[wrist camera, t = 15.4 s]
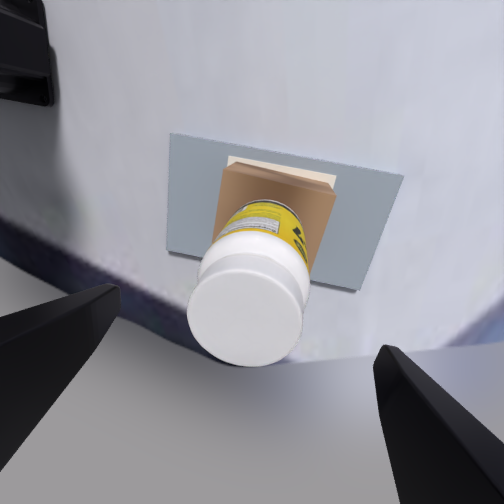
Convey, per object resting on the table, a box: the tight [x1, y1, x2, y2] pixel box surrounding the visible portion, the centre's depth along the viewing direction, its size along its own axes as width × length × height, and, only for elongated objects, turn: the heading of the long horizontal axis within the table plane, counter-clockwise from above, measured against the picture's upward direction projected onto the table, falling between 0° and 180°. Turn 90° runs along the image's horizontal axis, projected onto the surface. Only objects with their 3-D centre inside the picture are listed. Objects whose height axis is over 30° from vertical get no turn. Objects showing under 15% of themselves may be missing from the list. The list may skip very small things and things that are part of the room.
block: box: [211, 161, 337, 275], centre depth 19 cm, size 6×6×4 cm
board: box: [166, 133, 404, 290], centre depth 21 cm, size 16×9×1 cm, turn 81°
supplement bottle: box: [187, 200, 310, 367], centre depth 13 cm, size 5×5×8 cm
